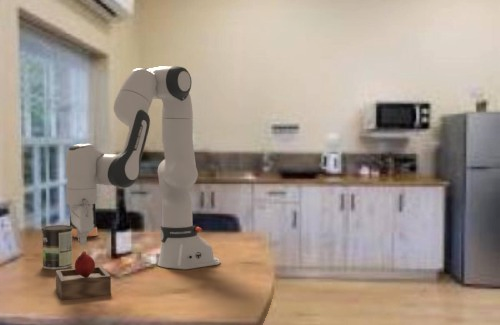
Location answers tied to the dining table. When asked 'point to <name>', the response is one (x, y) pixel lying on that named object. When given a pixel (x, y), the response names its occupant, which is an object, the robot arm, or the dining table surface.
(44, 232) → the coffee can
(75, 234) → the whiskey bottle
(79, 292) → the wooden box
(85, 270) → the onion
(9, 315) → the dining table surface
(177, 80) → the robot arm
